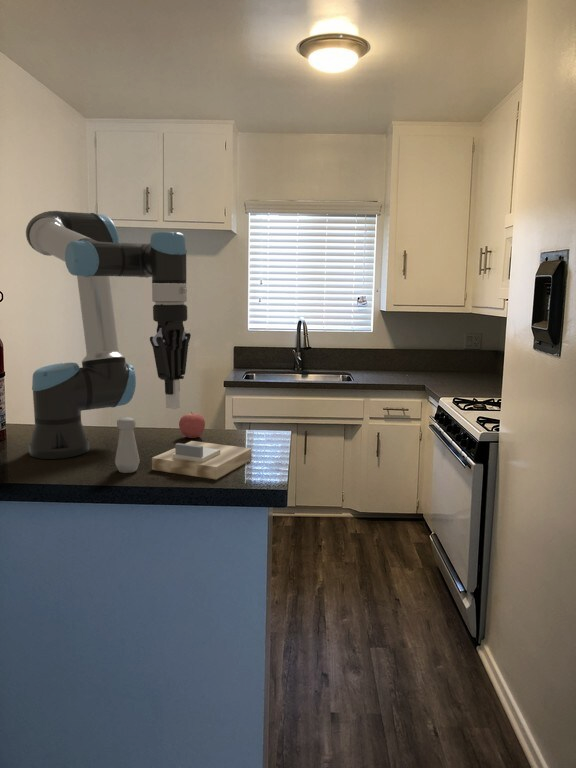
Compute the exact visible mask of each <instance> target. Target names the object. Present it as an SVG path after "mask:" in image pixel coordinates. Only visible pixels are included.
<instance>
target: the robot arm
mask: <svg viewBox="0 0 576 768" xmlns="http://www.w3.org/2000/svg"><path fill="white" fill-rule="evenodd" d="M116 227H117V226H116V225H115V223H114V221H113V220H112V219H111V218H110V217H109V216H108V215H106V214H105V215H104V214H99V213H95V212H74V211H61V210H48V211H44V212H41V213H38V214H37V215H34V216H33V217H32V218H31V220H29V221H28V223H27V225H26V229H25V236H26V240H27V243H28V245H29V246H30V247H31V248H32V249H33V250H34V251H36V252H37V253H39V254H42V255H44V256H53V257H56V258H57V259H59V260H61V261H62V262H64V263H65V265H66V266H65V267H66V268H67V271H68V272H69V274H70V275H71V276H76V278H77V287H78V296H79V302H80V309H81V310H80V311H81V320H82V326H83V333H84V335H83V336H84V345H85V350H86V352H85V353H86V354H85V357H84V358H83V359H82V360H81V365H82V367H80V365H79V364H78V363H77V362H64V363H63V362H61V363H55V364H50V365H49V364H48V365H45V366H42V367H40V368H37V369H35V370H34V372H33V373H32V384H31V390H32V400H33V413H34V428H33V431H32V435H31V442H29V445H28V449H29V450H28V451H29V456H31V457H32V458H36V459H44V460H56V459H57V460H58V459H67V458H74V457H76V456H77V457H78V456H81V455H84V454H86V453H87V452H89V451H90V440H89V438H88V437H87V435H86V432H85V429H84V426H83V423H82V412H83V411H89V410H97V409H106V408H107V409H108V408H117V407H120V406H125V405H127V404H129V403H130V402H131V401H132V399H133V397H134V395H135V392H136V385H137V376H136V371H135V370H134V366H133V365H132V364H130V363H126V356H125V355H123V354H122V353H121V352H120V351H119V345H118V336H117V335H118V334H117V329H116V328H117V327H116V319H115V312H114V310H115V309H114V303H113V296H112V287H111V280H110V278H111V277H125V278H126V277H129V278H130V277H133V278H134V277H135V278H147V279H148V278H150V277H151V292H152V294H151V295H152V296H151V297H152V302H153V303H154V304H153V305H152V317H153V318H152V319H153V321H154V322H156V323H157V327H156V334H155V335H154V336H150V337H149V343H150V344H151V347H152V351H153V355H154V356H153V357H154V361H155V368H156V373H157V377H158V379H160V380H163V381H164V393H165V408H166V409H174V410H177V409H180V408H181V406H180V405H181V404H180V401H181V400H180V388H181V387H180V380H184V378H185V375H186V371H187V361H188V360H187V359H188V352H189V344H190V340H191V335H192V334H191V333H190V332H188V333H187V332H186V331H185V326H184V322H186V321H187V320H188V305H187V304H185V303H186V302H187V301H188V299H187V298H188V297H187V296H188V295H187V293H188V289H187V249H186V248H187V247H186V237H185V235H184V234H183V233H182V232H175V231H156V232H153V233H152V234H151V235H150V242H149V243H139V242H138V243H137V242H135V243H134V242H120V240H119V234H118V230H117V228H116Z"/></svg>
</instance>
